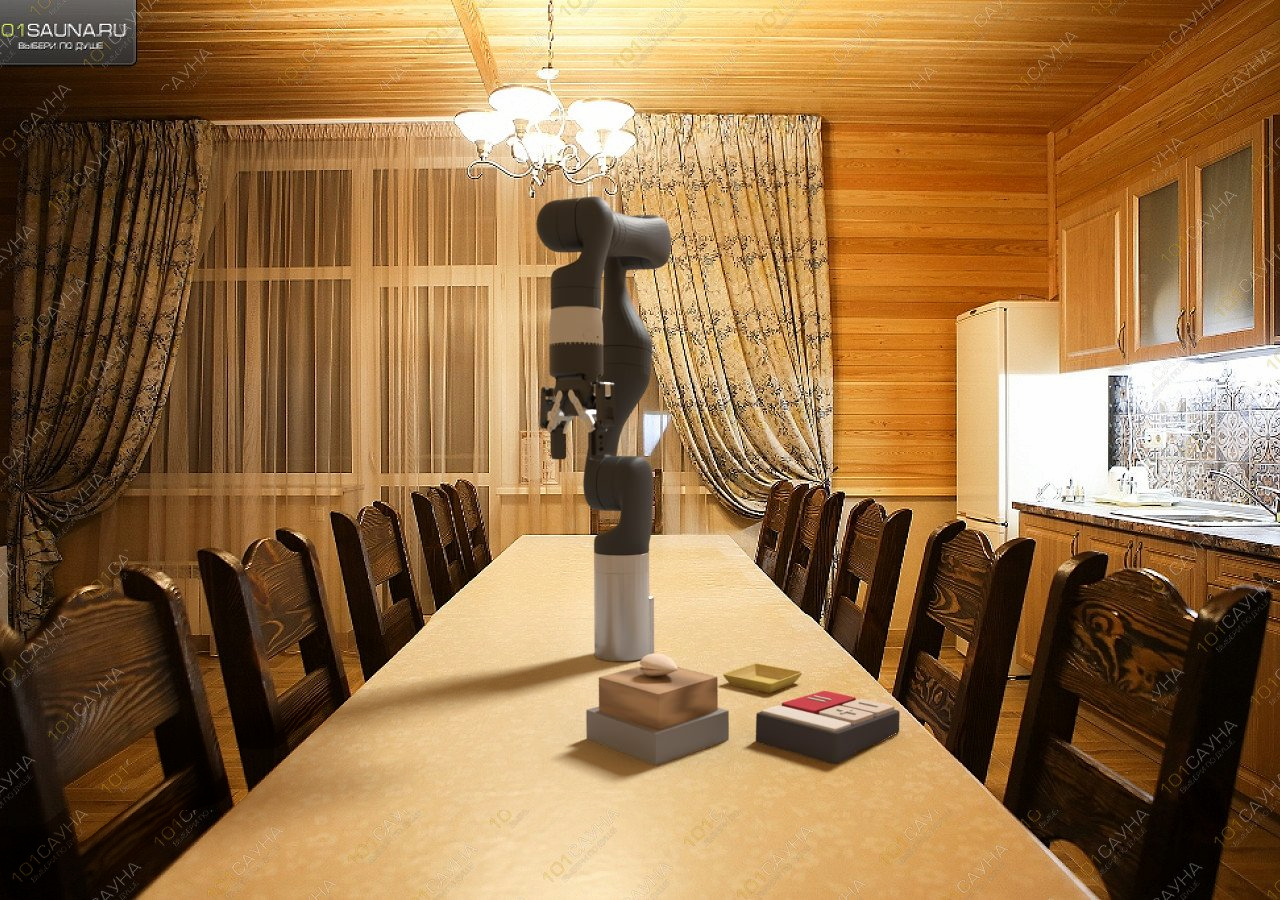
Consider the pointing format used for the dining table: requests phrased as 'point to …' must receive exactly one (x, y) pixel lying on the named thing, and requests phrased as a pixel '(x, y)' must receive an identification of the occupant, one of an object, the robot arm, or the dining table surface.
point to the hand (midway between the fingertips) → (576, 459)
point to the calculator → (826, 725)
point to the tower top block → (658, 696)
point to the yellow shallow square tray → (762, 677)
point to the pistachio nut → (657, 665)
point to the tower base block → (657, 735)
